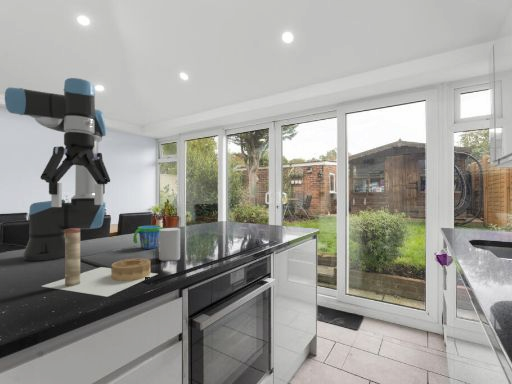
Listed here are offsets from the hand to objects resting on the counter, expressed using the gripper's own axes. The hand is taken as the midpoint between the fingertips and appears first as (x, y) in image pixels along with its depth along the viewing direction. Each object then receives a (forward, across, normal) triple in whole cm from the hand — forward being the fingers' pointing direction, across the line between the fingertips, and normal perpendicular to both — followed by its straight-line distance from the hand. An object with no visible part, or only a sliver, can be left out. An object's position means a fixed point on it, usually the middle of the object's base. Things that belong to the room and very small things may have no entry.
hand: (79, 205), depth 79 cm
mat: (+23, +4, -4) cm, 24 cm away
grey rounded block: (+23, +33, -8) cm, 41 cm away
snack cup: (+23, +49, +14) cm, 56 cm away
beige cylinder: (+23, -2, +1) cm, 23 cm away
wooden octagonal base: (+23, +10, -10) cm, 27 cm away
